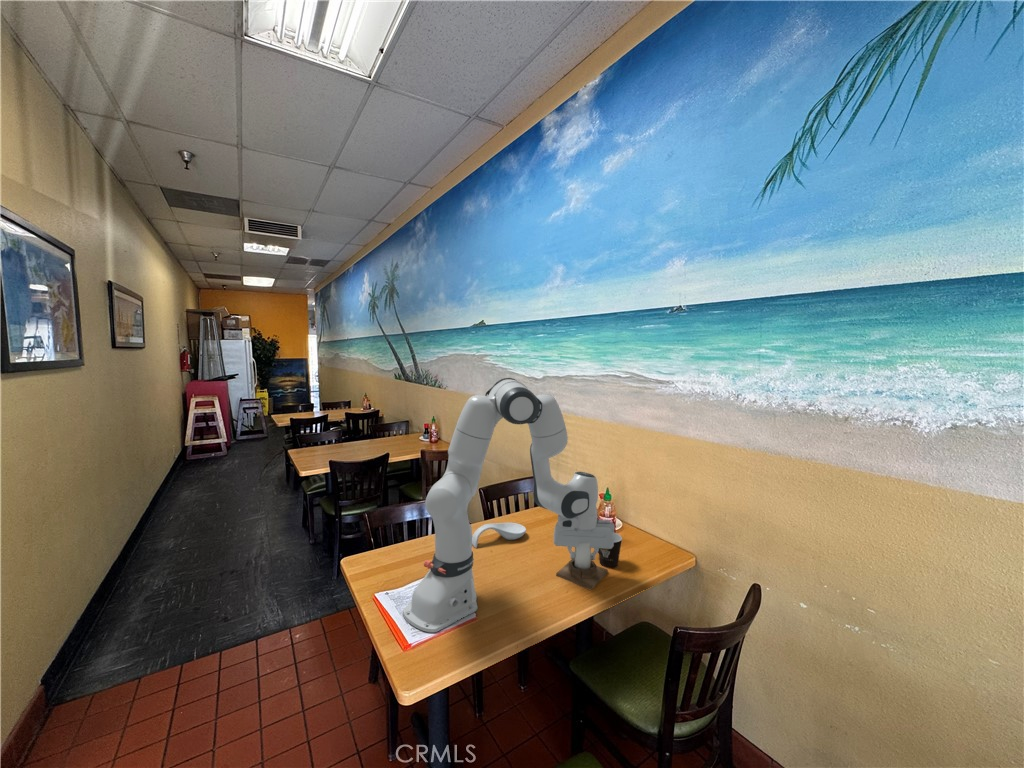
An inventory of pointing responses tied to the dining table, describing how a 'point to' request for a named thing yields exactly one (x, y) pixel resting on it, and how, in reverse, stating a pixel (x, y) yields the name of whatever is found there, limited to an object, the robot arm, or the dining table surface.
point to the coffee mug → (611, 553)
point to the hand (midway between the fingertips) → (582, 558)
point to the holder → (582, 574)
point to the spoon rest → (500, 531)
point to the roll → (583, 556)
